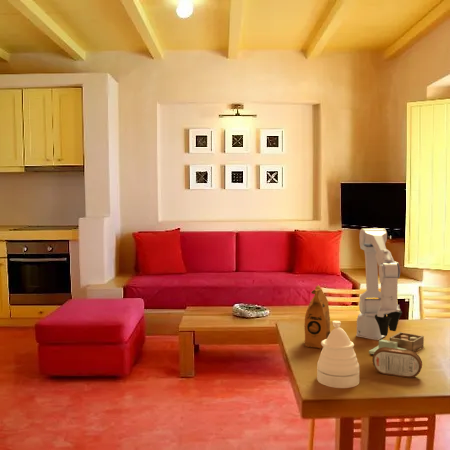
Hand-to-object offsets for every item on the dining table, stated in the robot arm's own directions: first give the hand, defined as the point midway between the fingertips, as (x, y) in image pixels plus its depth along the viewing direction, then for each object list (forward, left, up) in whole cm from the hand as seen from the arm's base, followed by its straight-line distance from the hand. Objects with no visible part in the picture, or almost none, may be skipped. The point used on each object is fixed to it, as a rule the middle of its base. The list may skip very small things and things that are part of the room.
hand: (388, 332), depth 182 cm
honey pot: (-1, -35, -8) cm, 36 cm away
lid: (0, 0, -7) cm, 7 cm away
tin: (+11, -19, -8) cm, 23 cm away
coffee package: (-26, -6, -8) cm, 28 cm away
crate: (+2, +12, -8) cm, 14 cm away
